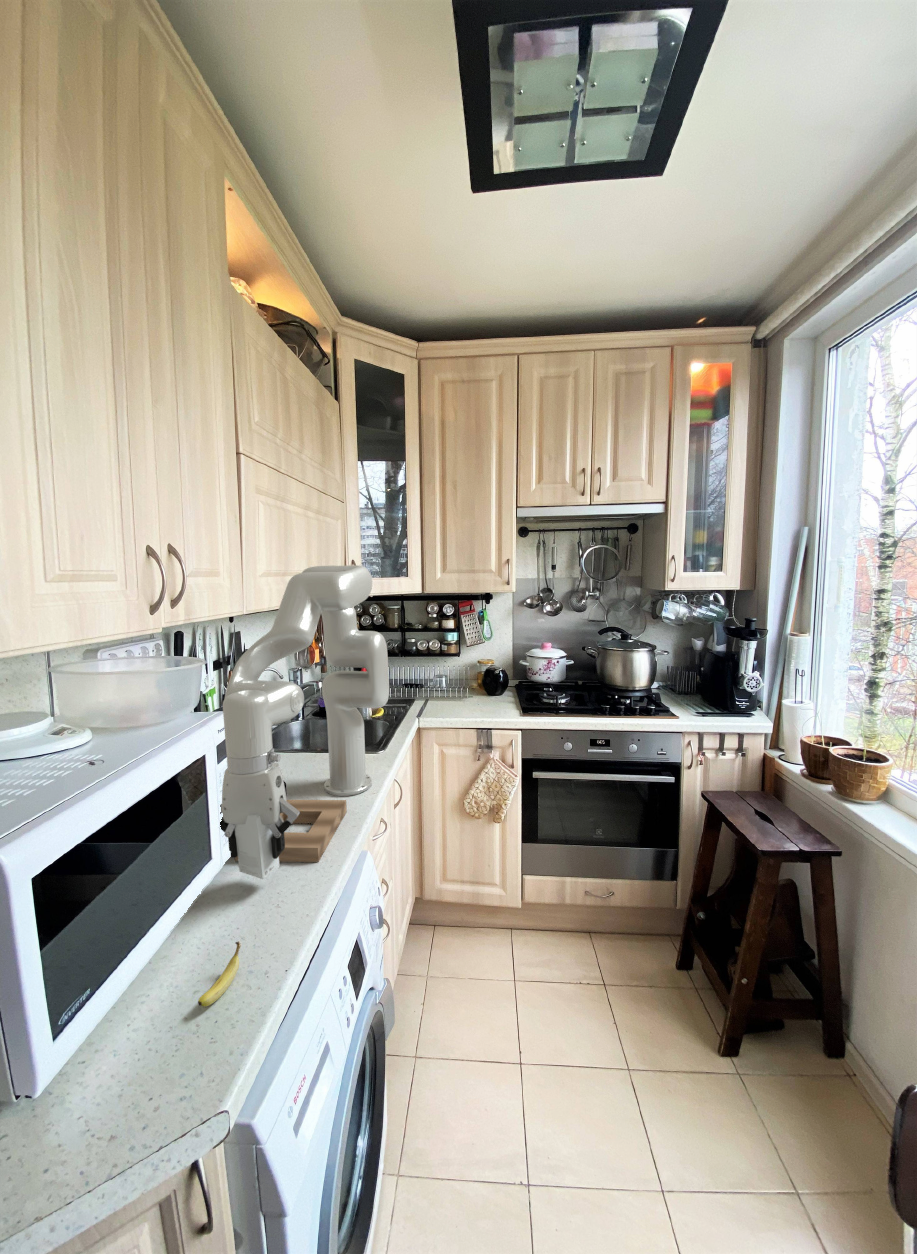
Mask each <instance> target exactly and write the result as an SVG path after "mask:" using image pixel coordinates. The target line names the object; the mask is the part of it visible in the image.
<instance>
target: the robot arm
mask: <svg viewBox="0 0 917 1254" xmlns="http://www.w3.org/2000/svg"><path fill="white" fill-rule="evenodd" d="M372 589H373V577H372V574H371V572H370V570H369V569H368V568H366V567H365V566H362V565H316V566H315V565H314V566H308V568H305V569H303V571H302V572H301V573H297V574H295V575H293V576H291V578H290V579H289V581H288V582H287V585H286V587H285V590H284V593H283V595H282V598H281V601H280V605H279V607H278V609H277V613H276V616H275V618H274V621H273V624H272V627H271V629H270V630H269V631H268V632H267V633H266V634H264V635H263V636H261V638H259V639H258V640H256V641H255V642H254V643H253V644H252V645H251V646H250V647H249V648H247V650H246V651H245V652H244V653H242V655H241V656H240V657H239V658H238V660H237V662H236V663H235V666H234V668H233V670H232V673H231V676H230V678H229V680H228V684H227V686H226V690H225V693H224V694H225V695H224V700H223V702H222V714H223V717H222V718H223V725H224V726H223V728H224V729H223V730H224V739H225V750H226V752H225V753H226V762H227V763H226V764H227V766H226V767H227V768H226V769H225V770H224V774H223V781H222V789H221V804H219V805H220V807H221V812H220V814H221V813H223V817H222V819H221V820H222V821H221V822H220V825H221V826H220V827H221V829H220V830H221V831H222V832H224V836H225V837H226V838H227V839H228V840H227V842H228V849H229V851H230V858H231V859H235V857H237V855H238V854H237V846H236V837H235V826H236V824H245V823H246V819H247V816H248V815H256V814H259V815H260V818H261V823H262V824H263V825H268V826H269V828H270V830H271V831H272V833H273V835H274V836H273V837H272V839H271V844H272V857H273V858H274V859H277V858H278V856H279V855H280V853H281V852H282V851H283V850H284V848H285V837H284V832H287V830H288V829H289V828H290V826H291V825H292V824H294V823H293V822H294V820H295V819H296V818H297V817H298V815H299V814H300V812H299V811H298V810H297V809H296V808H294V807H293V806H292V805H291V804H289V803H288V802H287V801H286V800H287V793H286V787H285V783H284V782H285V781H284V777H283V775H282V773H283V772H282V770H281V767H280V764H279V762H281V757H282V756H281V754H279V753H275V748H273V747H274V746H273V745H274V744H273V733H272V732H273V731H272V728H273V726H275V725H278V724H281V723H284V722H285V723H286V722H288V721H289V720H292V719H294V718H295V717H296V716H298V714H300V712H301V710H302V708H303V707H304V703H305V695H304V690H303V689H302V688H301V687H300V686H299V684H296V683H295V682H292V681H286V680H285V681H284V680H259V678H260V677H261V675H262V674H263V672H265V671H266V670H267V668H269V667H270V666H271V665H273V664H274V663H277V662H278V661H280V660H282V659H284V658H288V657H289V656H291V655H294V654H297V653H298V652H301V651H303V650H306V649H307V648H309V646H311V644H312V643H313V641H314V638H315V634H316V631H317V627H318V624H319V621H320V617H321V618H322V619H321V620H322V628H323V641H324V652H325V658H326V661H327V663H328V664H329V665H330V666H332V667H338V668H360V669H361V668H363V669H366V671H361V670H360V671H359V670H338V671H336V670H335V671H333V672H330V673H329V674H327V675H326V676H325V677H324V679H323V680H322V684H321V694H322V699H323V701H324V702H323V703H324V707H325V711H326V722H327V744H328V746H327V747H328V762H329V763H328V766H329V767H328V768H329V778H327V779H326V781H325V782H324V784H323V789H324V792H325V793H327V794H329V795H332V796H336V797H337V796H338V797H345V796H346V797H349V796H354V795H358V794H361V793H364V792H366V791H367V790H369V789H370V787H371V786H373V785H372V784H373V782H372V781H373V779H372V777H371V776H370V775H368V774H366V771H367V770H366V769H367V768H366V744H365V739H366V738H365V721H364V718H363V716H362V714H361V712H360V711H359V709H379V708H383V707H385V705H386V704H387V703H388V700H389V696H390V677H389V676H390V675H389V674H390V673H389V659H388V655H389V654H388V645H387V641H386V639H385V636H383V634H382V633H380V632H378V631H375V630H359V628H358V620H357V611H356V609H355V606H358V605H359V604H361V603H363V602H365V601H366V600H367V599H368V598H369V596H370V594H371V592H372ZM280 813H285V814H286V815H287V816H288V818H287V819H286V820H285V821H283V819H282V817H281V816H280Z"/></svg>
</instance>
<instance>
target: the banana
mask: <svg viewBox="0 0 917 1254" xmlns="http://www.w3.org/2000/svg"><path fill="white" fill-rule="evenodd" d="M235 944H236V948H235V949H236V950H235V952H234V954H233V955H232V958H230V960H229V962H228V963H227V965H226V967H225V969H224V970H223V972H222V974H221V975H220V976H219V977H218V979H217V980H216V981H215V982H214V984H212V986H211V987H210V988H209V989H208V990H207V991H206V992H205V993H203V994H202V995H201V996H200V997H199V999H198V1000H197V1004H198V1006H200V1007H203V1008H204V1007H208V1006H211V1005H212V1004H214V1003H215V1002H216V1001H217V1000H219V999H220V998H221V997H222V995H224V993H226V991H227V990H228V988H229V987H230V985H231V984H232V983H233V980H234V979H235V978H236V975H237V973H238V971H239V967H240V958H239V953H240V950H241V947H242V945H241V944H242V943H241V942H240V941H239V940H238V941H237V942H235Z"/></svg>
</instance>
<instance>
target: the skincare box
mask: <svg viewBox="0 0 917 1254" xmlns="http://www.w3.org/2000/svg"><path fill="white" fill-rule="evenodd" d="M273 836H274V835H273V833H272V831H271V830H270V828H269V826H268V825H263V824H262V823H261V818H260V815H259V814H256V815H248V816H247V819H246V823H245V824H236V826H235V837H236V846H237V854H238V861H237V862H238V870H239V872H240V873H243V874H246V875H249V876H251V877H253V878H257V879H261V880H265V878H268V877H269V876H270V875H272V874H273V873H274V872H275V871H277V869H279V868H280V862H279V856H278V858H277V859H274V858H273V857H272V844H271V839H272V837H273Z"/></svg>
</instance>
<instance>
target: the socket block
mask: <svg viewBox="0 0 917 1254" xmlns="http://www.w3.org/2000/svg"><path fill="white" fill-rule="evenodd" d="M286 801H287V802H288V803H289V804H291V805H292V806H293V807H294V808H296V809H297V810H298V811H299V812H300V814H299V815H298V817H297V818H296V819H295V820H294V822H293V823H292V824H298V823H299V824H298V825H300V824H301V823H302V824H304V825H305V824H306V825H307V824H308V823H309V824H308V825H310V823H311V825H312V826H311V827H310V829H309V831H308V832H301V831H299V832H298V831H297V832H292V831H291V832H289V831H288V832H287V831H285V832H284V837H285V848H284V850H283V851H282V852H281V853H280V855H279V863H280V862H282V863H285V862H289V863H290V862H291V863H298V862H299V863H319V862H320V861H321V859H322V857H323V855H324V854H325V851H326V850H327V849H328V846H329V844H330V842H331V840H332V839H333V837H334V836H335V833H336V832H337V830H338V828H339V826H340V825H341V823H342V821H343V819H344V818H345V816H346V814H347V812H348V810H347V800H346V799H286ZM280 816H281V817H282V819H283V821H285V820H286V819H287V818H288V816H287V815H286V814H285V813H280ZM302 824H301V825H302ZM234 860H235V862H238V855H237V857H235V858H234Z"/></svg>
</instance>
